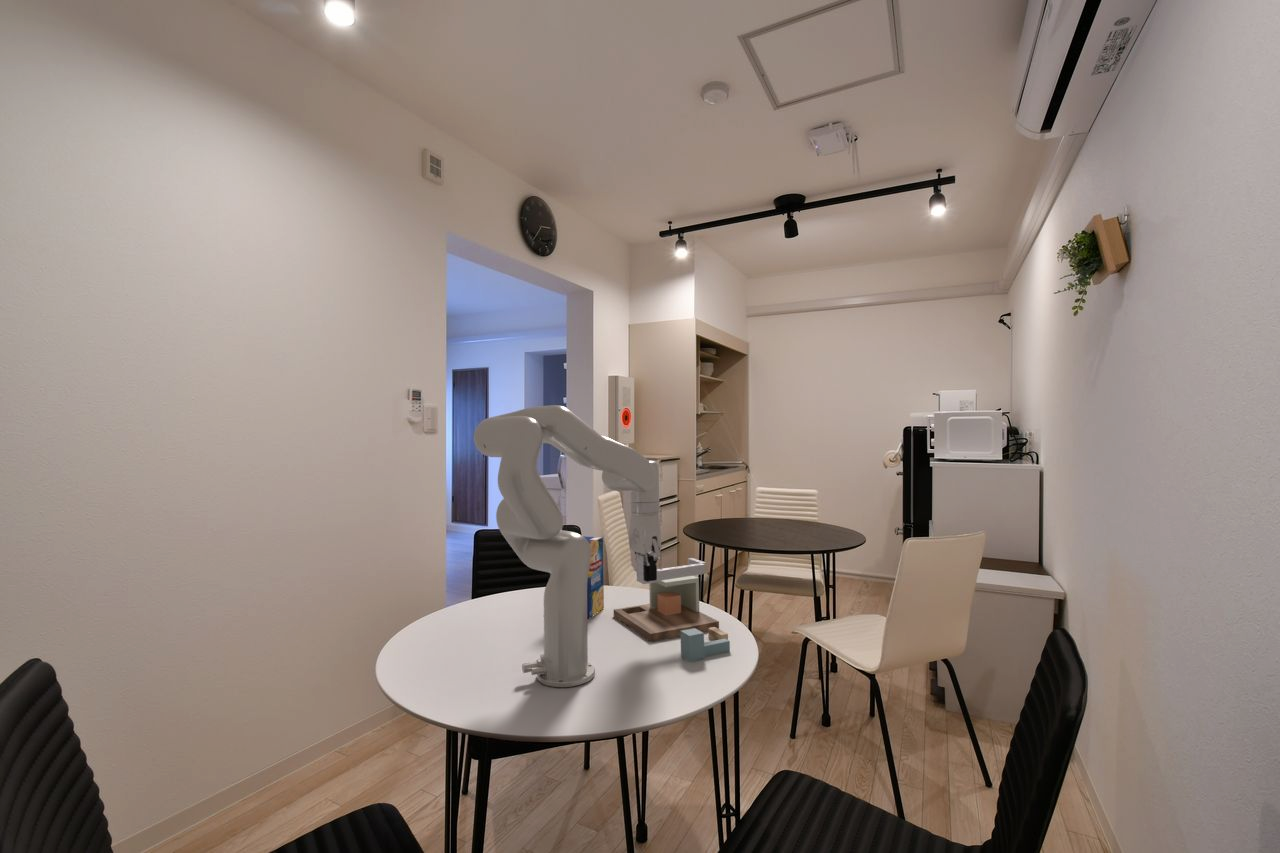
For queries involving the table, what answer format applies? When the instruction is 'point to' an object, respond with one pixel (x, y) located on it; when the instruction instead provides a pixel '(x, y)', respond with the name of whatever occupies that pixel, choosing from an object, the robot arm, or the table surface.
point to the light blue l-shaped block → (700, 645)
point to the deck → (663, 621)
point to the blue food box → (595, 577)
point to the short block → (717, 634)
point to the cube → (669, 603)
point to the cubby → (677, 591)
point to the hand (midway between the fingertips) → (646, 577)
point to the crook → (670, 569)
